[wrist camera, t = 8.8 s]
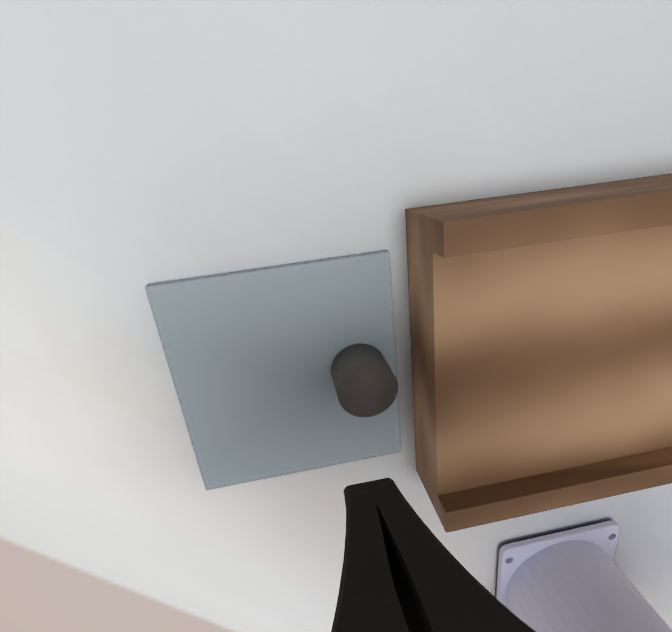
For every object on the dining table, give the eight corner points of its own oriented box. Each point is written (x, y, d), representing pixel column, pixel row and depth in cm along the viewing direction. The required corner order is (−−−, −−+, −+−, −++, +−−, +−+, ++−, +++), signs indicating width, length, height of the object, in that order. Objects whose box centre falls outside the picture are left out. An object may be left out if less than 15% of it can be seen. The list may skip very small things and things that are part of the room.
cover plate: (395, 439, 22) (413, 479, 19) (208, 475, 21) (199, 523, 18) (382, 247, 18) (403, 263, 15) (151, 280, 17) (128, 303, 14)
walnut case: (678, 417, 24) (754, 464, 20) (416, 470, 22) (446, 532, 18) (742, 164, 18) (860, 164, 15) (405, 209, 17) (443, 222, 13)
